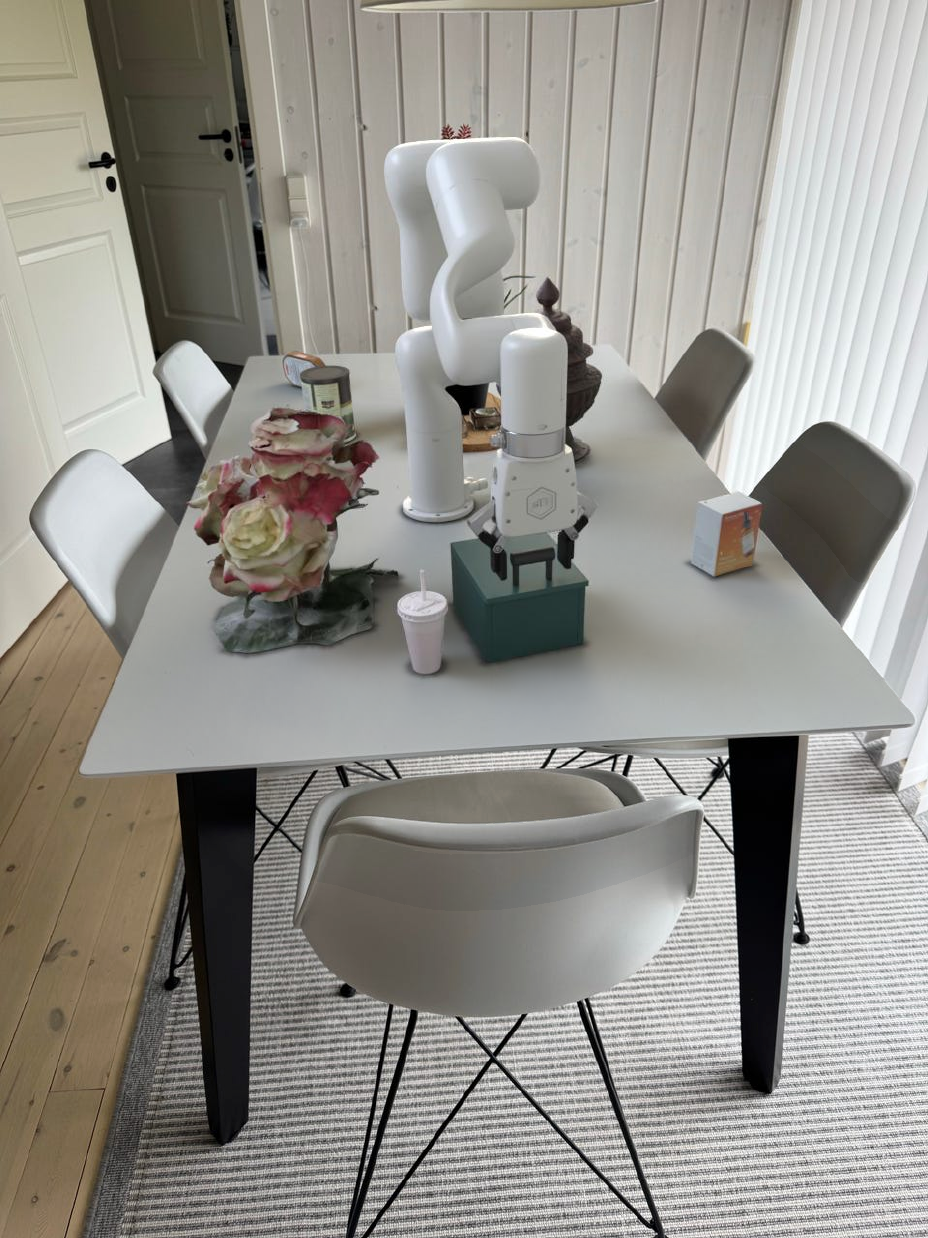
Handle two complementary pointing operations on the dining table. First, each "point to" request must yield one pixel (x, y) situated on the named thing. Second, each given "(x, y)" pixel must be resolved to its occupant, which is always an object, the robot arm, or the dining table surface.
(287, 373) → the tin
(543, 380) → the robot arm
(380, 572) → the rose bouquet
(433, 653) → the smoothie
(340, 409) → the coffee can
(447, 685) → the dining table surface
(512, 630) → the bin
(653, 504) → the dining table surface
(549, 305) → the decorative urn
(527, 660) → the dining table surface
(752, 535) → the small box
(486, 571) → the bin lid
